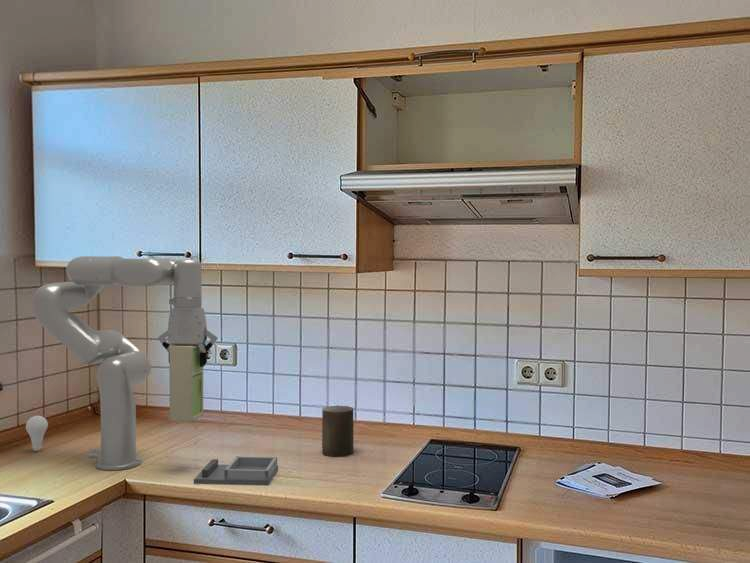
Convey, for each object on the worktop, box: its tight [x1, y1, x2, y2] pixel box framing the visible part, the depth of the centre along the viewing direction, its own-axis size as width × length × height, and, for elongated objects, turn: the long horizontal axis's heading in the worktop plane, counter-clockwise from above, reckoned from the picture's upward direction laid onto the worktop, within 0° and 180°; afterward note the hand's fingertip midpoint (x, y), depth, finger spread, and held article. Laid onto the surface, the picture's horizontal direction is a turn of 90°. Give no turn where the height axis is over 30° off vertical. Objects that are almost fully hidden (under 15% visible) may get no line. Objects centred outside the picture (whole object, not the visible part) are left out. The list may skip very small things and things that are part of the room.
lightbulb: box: [25, 415, 49, 452], centre depth 215 cm, size 6×6×11 cm
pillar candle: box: [321, 404, 355, 458], centre depth 214 cm, size 10×10×15 cm
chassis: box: [193, 455, 279, 486], centre depth 190 cm, size 20×13×4 cm, turn 87°
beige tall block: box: [168, 344, 204, 423], centre depth 195 cm, size 8×7×21 cm
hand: (187, 365), depth 195 cm, fingers closed on beige tall block, 7 cm apart
